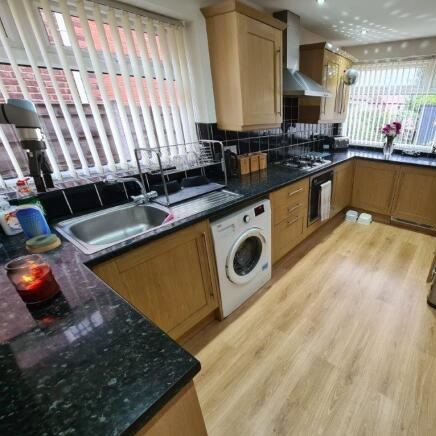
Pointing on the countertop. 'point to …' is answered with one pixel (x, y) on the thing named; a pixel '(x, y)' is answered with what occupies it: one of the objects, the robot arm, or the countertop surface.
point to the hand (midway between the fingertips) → (46, 190)
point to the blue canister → (31, 220)
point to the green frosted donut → (42, 243)
